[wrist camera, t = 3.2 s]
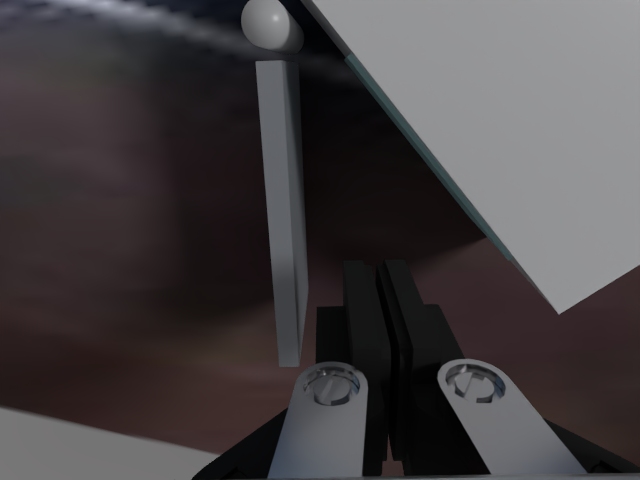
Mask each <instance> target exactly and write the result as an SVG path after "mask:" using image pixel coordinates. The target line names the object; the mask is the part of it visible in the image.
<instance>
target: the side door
mask: <svg viewBox="0 0 640 480" xmlns="http://www.w3.org/2000/svg"><path fill="white" fill-rule="evenodd" d="M241 24H242V29H243V32H244V34H245V36H246V37H247V39H248V40H249V41H250V42H251V43H252V44H254V45H256V46H258V47H261V48H264V49H268V50H271V51H275V52H278V53H282V54H285V55H293V54H296V53H297V52H299V51H300V50H301V48H302V46H303V44H304V33H303V30H302V28H301V27H300V26H299V25H298V23H297V22H296V21H295V20H294V18H293V17H292V16H291V15H290V14H289V12H288V11H287V10H286V9H285V7H284V6H283V5H282V4H281V3H280V2H279V1H278V0H250V1H249V2H248V3H247V4H246V5H245V7H244V9H243V12H242V16H241ZM255 62H256V74H257V87H258V100H259V112H260V125H261V138H262V151H263V163H264V176H265V189H266V202H267V214H268V227H269V240H270V252H271V265H272V278H273V291H274V303H275V316H276V329H277V342H278V354H279V367H299V363H300V355H301V347H302V339H303V330H304V322H305V314H306V305H307V297H308V270H307V247H306V224H305V201H304V178H303V155H302V132H301V109H300V86H299V63H295V62H288V61H282V60H278V61H255Z"/></svg>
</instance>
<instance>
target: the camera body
mask: <svg viewBox="0 0 640 480" xmlns="http://www.w3.org/2000/svg"><path fill="white" fill-rule="evenodd" d="M300 1H301V2H302V3H303V4H304V6H305V7H306V8H307V9H308V11H309V12H310V13H311V14H312V16H313V17H314V18H315V19H316V21H317V22H318V23H319V24H320V26H321V27H322V28H323V30H324V31H325V32H326V33H327V35H328V36H329V37H330V38H331V40H332V41H333V42H334V43H335V45H336V46H337V47H338V48H339V50H340V51H341V52H342V53H343V55H344V56H345V57H346V58H345V59H344V61H345V62H346V63H347V65H348V66H349V67H350V69H351V70H352V71H353V72H354V74H355V75H356V76H357V77H358V79H359V80H360V81H361V82H362V84H363V85H364V86H365V87H366V89H367V90H368V91H369V92H370V94H371V95H372V96H373V97H374V99H375V100H376V101H377V102H378V104H379V105H380V106H381V107H382V109H383V110H384V111H385V112H386V114H387V115H388V116H389V117H390V119H391V120H392V121H393V122H394V124H395V125H396V126H397V127H398V129H399V130H400V131H401V132H402V134H403V135H404V136H405V137H406V139H407V140H408V141H409V142H410V144H411V145H412V146H413V147H414V149H415V150H416V151H417V152H418V154H419V155H420V156H421V157H422V159H423V160H424V161H425V162H426V164H427V165H428V166H429V167H430V169H431V170H432V171H433V172H434V174H435V175H436V176H437V177H438V179H439V180H440V181H441V183H442V184H443V185H444V186H445V188H446V189H447V190H448V191H449V193H450V194H451V195H452V196H453V198H454V199H455V200H456V201H457V203H458V204H459V205H460V206H461V208H462V209H463V210H464V211H465V213H466V214H467V215H468V216H469V217H470V219H471V220H472V221H473V222H474V223H475V224H476V225H477V226H478V227H479V228H480V230H481V231H482V232H483V233H484V234H485V235H486V236H487V237H488V238H489V239H490V241H491V242H492V243H493V244H494V245H495V246H496V247H497V248H498V249H499V251H500V252H501V253H502V254H503V255H504V256H505V257H506V258H507V259H508V260H510V261H511V262H512V263H513V264H514V265H515V267H516V268H517V269H518V270H519V271H520V272H521V273H522V274H523V275H524V276H525V278H526V279H527V280H528V281H529V282H530V283H531V284H532V285H533V286H534V287H535V288H536V290H537V291H538V292H539V293H540V294H541V295H542V296H543V297H544V298H545V299H546V300H547V302H548V303H549V304H550V305H551V306H552V307H553V308H554V309H555V310H556V311H557V313H558V314H560V313H562V312H564V311H565V310H567V309H568V308H570V307H572V306H573V305H575V304H576V303H578V302H580V301H581V300H583V299H585V298H586V297H588V296H589V295H591V294H593V293H594V292H596V291H598V290H599V289H601V288H602V287H604V286H606V285H607V284H609V283H610V282H612V281H614V280H615V279H617V278H619V277H620V276H622V275H623V274H625V273H627V272H628V271H630V270H631V269H633V268H635V267H636V266H638V265H640V0H300Z"/></svg>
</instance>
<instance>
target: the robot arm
mask: <svg viewBox="0 0 640 480" xmlns="http://www.w3.org/2000/svg"><path fill="white" fill-rule="evenodd" d="M388 435H389V440H390V446H391V452H392V457H393V460H394V461H402V465H403V470H404V475H405V476H380V475H381V474H382V461H386V460H387V444H388ZM192 480H640V468H639V467H637V466H636V465H634V464H632V463H631V462H629V461H627V460H625V459H623V458H621V457H619V456H617V455H615V454H614V453H612V452H610V451H608V450H606V449H604V448H602V447H600V446H598V445H596V444H594V443H592V442H590V441H588V440H586V439H584V438H582V437H580V436H578V435H576V434H574V433H572V432H570V431H568V430H566V429H564V428H562V427H560V426H558V425H556V424H554V423H552V422H550V421H548V420H546V419H544V418H542V417H541V416H540V415H539V414H538V412H537V411H536V410H535V409H534V408H533V406H532V405H531V404H530V403H529V401H528V400H527V399H526V398H525V397H524V395H523V394H522V393H521V392H520V391H519V389H518V388H517V387H516V386H515V385H514V383H513V382H512V381H511V380H510V378H509V377H508V376H506V375H505V374H504V373H503V372H502V371H501V370H499V369H498V368H496V367H494V366H492V365H490V364H487V363H485V362H482V361H478V360H472V359H465V357H464V355H463V353H462V351H461V349H460V347H459V345H458V343H457V341H456V339H455V337H454V335H453V333H452V331H451V329H450V327H449V325H448V323H447V321H446V319H445V316H444V314H443V312H442V310H441V308H440V307H439V305H437V304H426V305H424V304H423V301H422V299H421V297H420V294H419V292H418V290H417V287H416V285H415V283H414V280H413V278H412V276H411V273H410V271H409V269H408V266H407V264H406V262H405V260H404V259H391V260H384V262H383V265H377V266H376V284H375V280H374V276H373V272H372V268H371V265H364V262H363V260H348V261H343V306H333V307H317V325H316V364H315V365H313V366H311V367H309V368H307V369H306V370H305V371H303V372H302V373H301V374H300V376H299V377H298V379H297V381H296V384H295V387H294V391H293V394H292V397H291V401H290V404H289V407H288V408H286V409H285V410H284V411H282V412H281V413H279V414H278V415H277V416H275V417H274V418H272V419H271V420H270V421H268V422H267V423H265V424H264V425H263V426H261V427H260V428H258V429H257V430H256V431H254V432H253V433H251V434H250V435H249V436H247V437H246V438H244V439H243V440H242V441H240V442H239V443H237V444H236V445H235V446H233V447H232V448H230V449H229V450H228V451H226V452H225V453H223V454H222V455H221V456H219V457H218V458H216V459H215V460H214V461H212V462H211V463H209V464H208V465H207V466H205V467H204V468H203V469H202V470H201V471H199V472H198V473H197V474H196V475H195V476H194V477H193V478H192Z"/></svg>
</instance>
